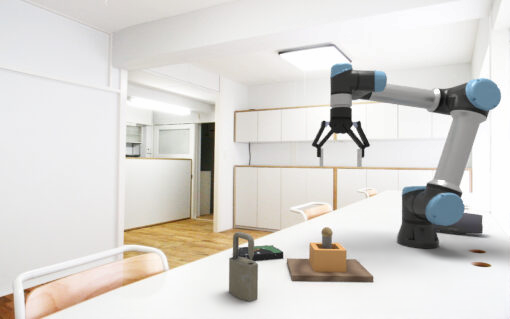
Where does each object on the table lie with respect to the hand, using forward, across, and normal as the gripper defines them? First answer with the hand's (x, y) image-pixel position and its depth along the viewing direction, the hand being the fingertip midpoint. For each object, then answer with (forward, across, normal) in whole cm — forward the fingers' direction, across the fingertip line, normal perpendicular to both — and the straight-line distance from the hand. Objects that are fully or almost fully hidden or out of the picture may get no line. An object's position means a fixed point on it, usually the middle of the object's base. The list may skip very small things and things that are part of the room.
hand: (340, 167), depth 120 cm
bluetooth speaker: (+31, -62, -37) cm, 79 cm away
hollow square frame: (+29, +9, +21) cm, 37 cm away
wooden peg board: (+31, +9, +21) cm, 38 cm away
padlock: (+31, +33, +39) cm, 60 cm away
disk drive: (+31, +29, +6) cm, 43 cm away
